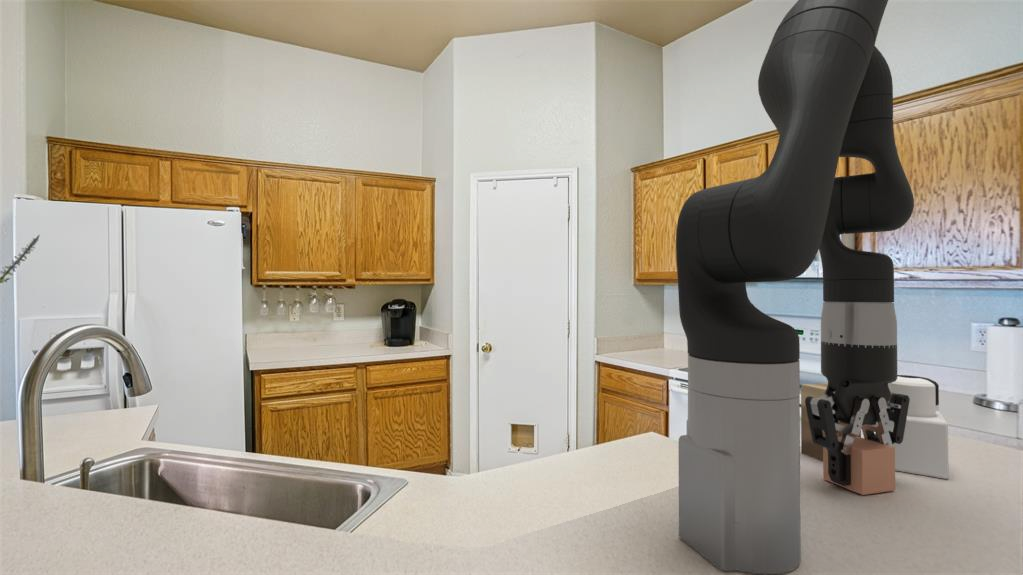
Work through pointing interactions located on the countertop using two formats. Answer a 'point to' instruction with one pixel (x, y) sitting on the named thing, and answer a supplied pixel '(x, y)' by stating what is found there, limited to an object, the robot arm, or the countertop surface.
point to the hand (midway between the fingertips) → (858, 480)
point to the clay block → (868, 467)
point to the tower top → (813, 391)
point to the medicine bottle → (921, 429)
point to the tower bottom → (807, 442)
